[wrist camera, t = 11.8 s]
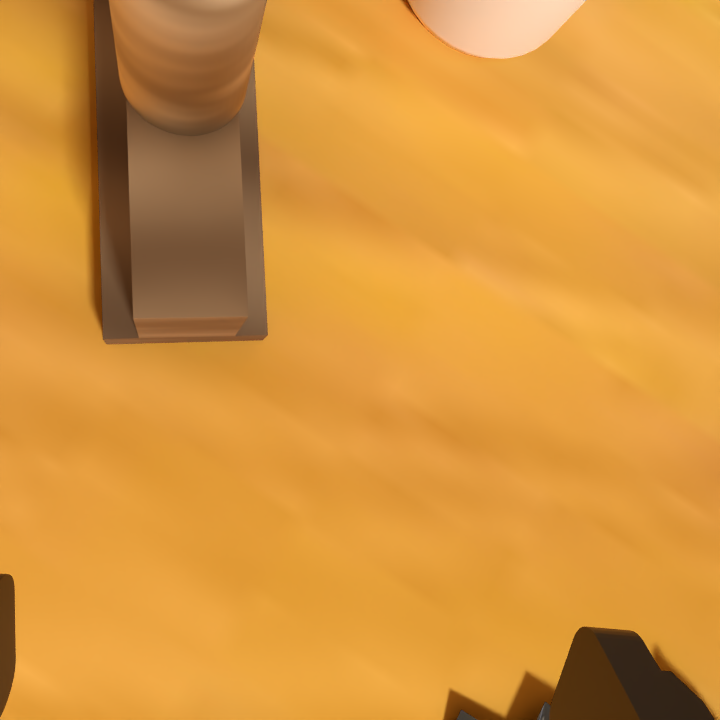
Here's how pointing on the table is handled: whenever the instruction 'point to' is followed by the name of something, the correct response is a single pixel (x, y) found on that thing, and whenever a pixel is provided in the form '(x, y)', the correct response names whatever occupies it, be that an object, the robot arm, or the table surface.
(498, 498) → the table surface
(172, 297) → the brown block
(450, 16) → the alcohol
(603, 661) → the robot arm
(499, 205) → the table surface
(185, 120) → the dowel
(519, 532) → the table surface
